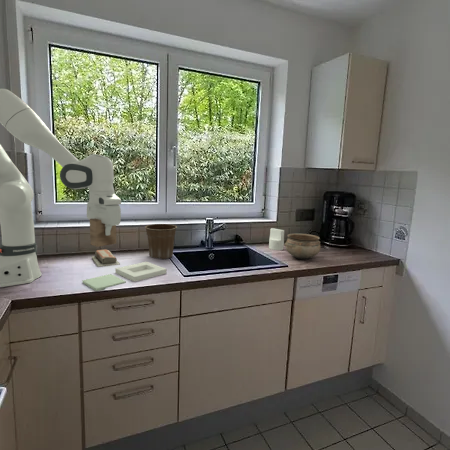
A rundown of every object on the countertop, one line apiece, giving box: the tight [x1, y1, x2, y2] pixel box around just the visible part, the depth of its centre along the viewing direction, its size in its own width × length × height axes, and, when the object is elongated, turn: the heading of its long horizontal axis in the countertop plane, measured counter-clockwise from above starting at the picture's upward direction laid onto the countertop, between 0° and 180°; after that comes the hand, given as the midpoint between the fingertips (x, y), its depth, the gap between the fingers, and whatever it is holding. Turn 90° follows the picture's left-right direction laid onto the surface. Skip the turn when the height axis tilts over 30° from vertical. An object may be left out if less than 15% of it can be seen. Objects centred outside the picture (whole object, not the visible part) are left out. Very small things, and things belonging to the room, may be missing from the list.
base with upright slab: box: [268, 227, 285, 251], centre depth 195 cm, size 9×9×12 cm
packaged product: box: [91, 248, 121, 268], centre depth 154 cm, size 18×5×10 cm
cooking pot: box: [284, 232, 321, 261], centre depth 174 cm, size 25×19×12 cm
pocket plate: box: [114, 261, 167, 282], centre depth 138 cm, size 16×15×2 cm
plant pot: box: [144, 223, 178, 260], centre depth 166 cm, size 16×16×16 cm
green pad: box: [81, 273, 127, 292], centre depth 125 cm, size 12×12×1 cm
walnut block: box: [89, 218, 117, 248], centre depth 122 cm, size 8×5×10 cm, turn 138°
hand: (103, 233), depth 122 cm, fingers closed on walnut block, 5 cm apart
